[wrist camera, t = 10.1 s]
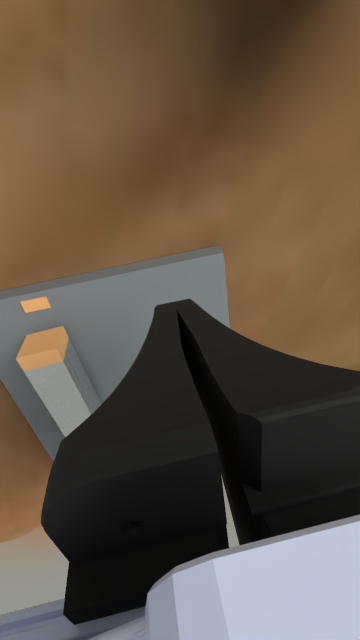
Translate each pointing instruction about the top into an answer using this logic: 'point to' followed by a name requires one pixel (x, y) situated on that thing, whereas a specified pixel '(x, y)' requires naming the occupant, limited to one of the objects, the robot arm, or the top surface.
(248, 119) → the top surface
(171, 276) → the plate
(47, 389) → the lever
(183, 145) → the top surface
